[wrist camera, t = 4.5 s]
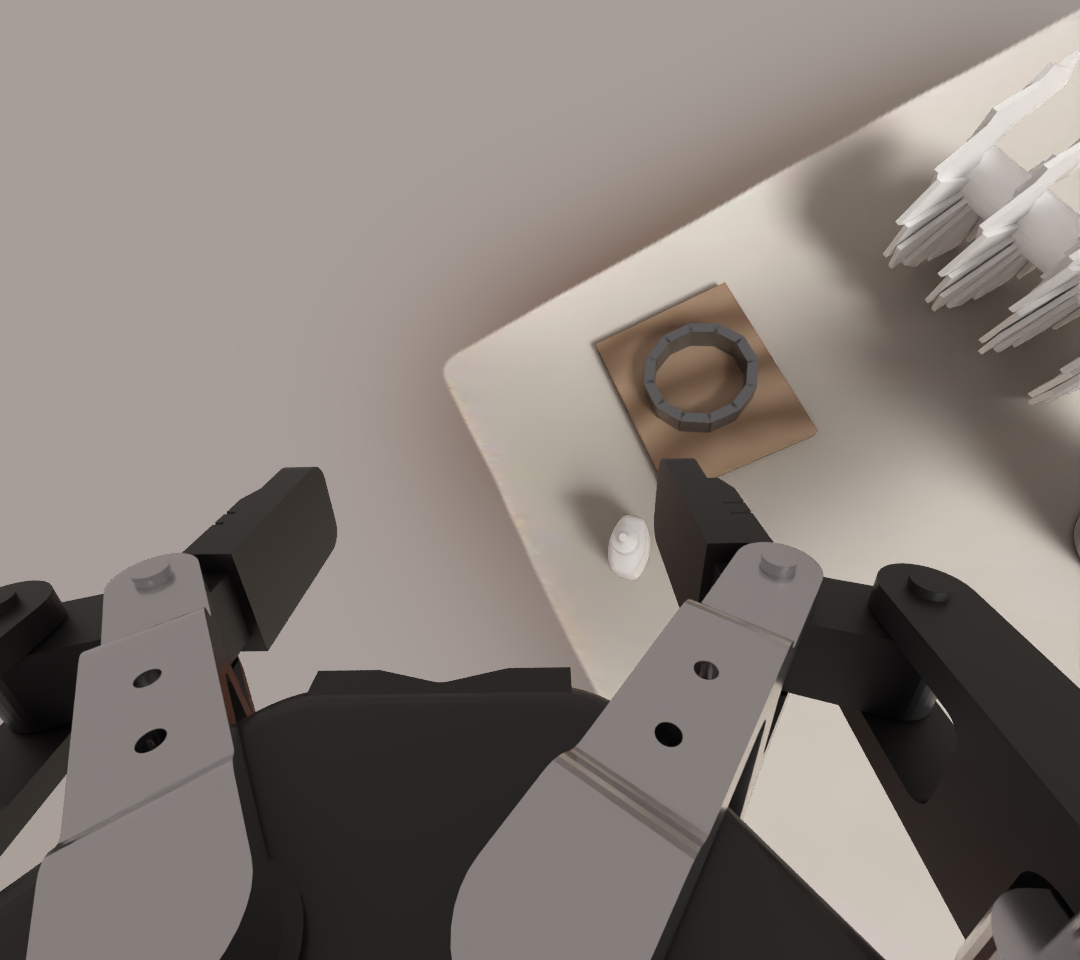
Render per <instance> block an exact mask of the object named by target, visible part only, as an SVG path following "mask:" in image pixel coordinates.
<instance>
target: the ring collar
mask: <svg viewBox="0 0 1080 960" xmlns="http://www.w3.org/2000/svg"><path fill="white" fill-rule="evenodd" d="M689 346H714V347H716V348H718V349H720V350H721V351H723V352H725V353H727V354H729V355H731V356H733V358H734V359H735V361H736V363H737V364H738V366H739V368H740V369H741V371H742V373H743V374H744V379H743V389H742V391H741V392H740V393H739V395H738V396H737V397H736V399H735V400H734V401H733V402H732V403H731V404H729V405H727V406H724V407H722V408H720V409H718V410H716V411H713V412H711V413H689V412H682V411H681V410H679V409H677V408H676V407H674V406H672V405H671V404H669V403H667V402H666V401H664V400H663V398H662V396H661V394H660V392H659V391H658V389H657V387H656V385H655V382H656V373H657V371H658V370H659V369H660V367H661V366H662V365H663V363H664V362H665V361H666V359H667V358H668V357H669V355H671V354H674V353H676V352H678V351H680V350H682V349H684V348H686V347H689ZM758 361H759V360H758V358H757V356H756V355H755V353H754V351H753V350H752V348H751V346H750V345H749V343H748V342H747V340H746V338H745V337H744V336H743V335H741V334H739V333H737V332H735V331H733V330H731V329H729V328H727V327H725V326H723V325H721V324H719V325H718V323H690V324H687V325H685V326H683V327H681V328H678V329H676V330H674V331H672V332H670V333H668V334H666V335H664V336H663V337H662V338H661V339H660V341H659V342H658V343H657V344H656V346H655V347H654V348H653V350H652V351H651V352H650V354H649V355H648V356H647V358H646V367H645V376H644V389H645V395H646V397H647V399H648V401H649V403H650V405H651V407H652V409H653V411H654V413H655V415H656V416H657V418H659V419H661V420H662V421H664V422H665V423H667V424H669V425H670V426H672V427H673V428H675V429H677V430H678V431H679V430H680V431H684V432H701V433H708V432H709V433H710V432H712V431H714V430H717V429H719V428H721V427H723V426H726V425H728V424H730V423H732V422H735V420H737V419H738V417H739V416H740V415H741V413H742V412H743V411H744V409H745V408H746V407H747V405H748V404H749V403H750V401H751V400H752V398H753V395H754V393H755V390H756V388H757V377H758Z"/></svg>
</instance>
